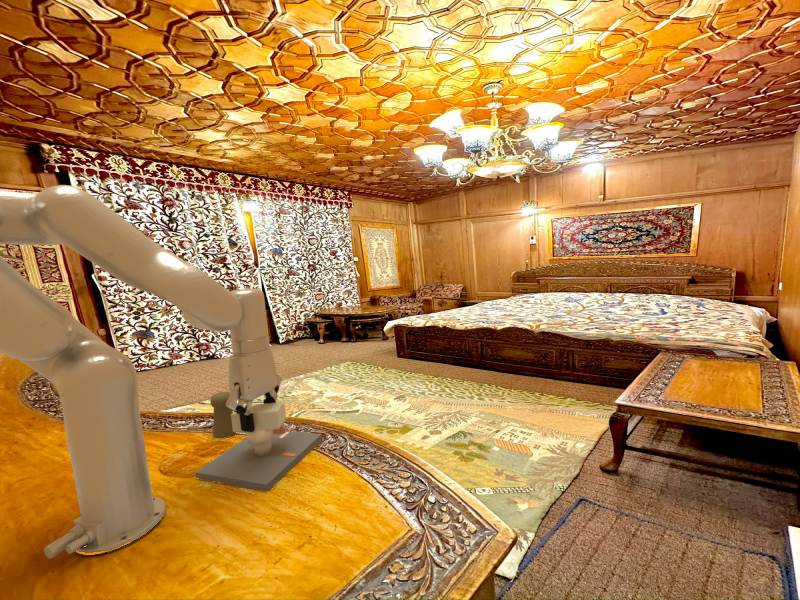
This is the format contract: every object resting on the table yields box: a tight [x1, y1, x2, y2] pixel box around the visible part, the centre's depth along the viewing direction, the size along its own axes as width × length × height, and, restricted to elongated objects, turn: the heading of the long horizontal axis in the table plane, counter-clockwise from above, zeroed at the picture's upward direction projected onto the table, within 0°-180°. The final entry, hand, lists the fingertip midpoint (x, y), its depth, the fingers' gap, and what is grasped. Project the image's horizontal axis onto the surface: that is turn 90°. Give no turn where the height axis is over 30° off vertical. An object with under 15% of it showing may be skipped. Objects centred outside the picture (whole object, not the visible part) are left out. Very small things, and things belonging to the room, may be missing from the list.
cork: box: [210, 391, 237, 439], centre depth 94 cm, size 6×6×11 cm
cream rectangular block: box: [231, 401, 288, 445], centre depth 80 cm, size 10×6×7 cm, turn 91°
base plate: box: [195, 430, 323, 493], centre depth 80 cm, size 20×18×4 cm
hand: (260, 422), depth 80 cm, fingers closed on cream rectangular block, 6 cm apart
